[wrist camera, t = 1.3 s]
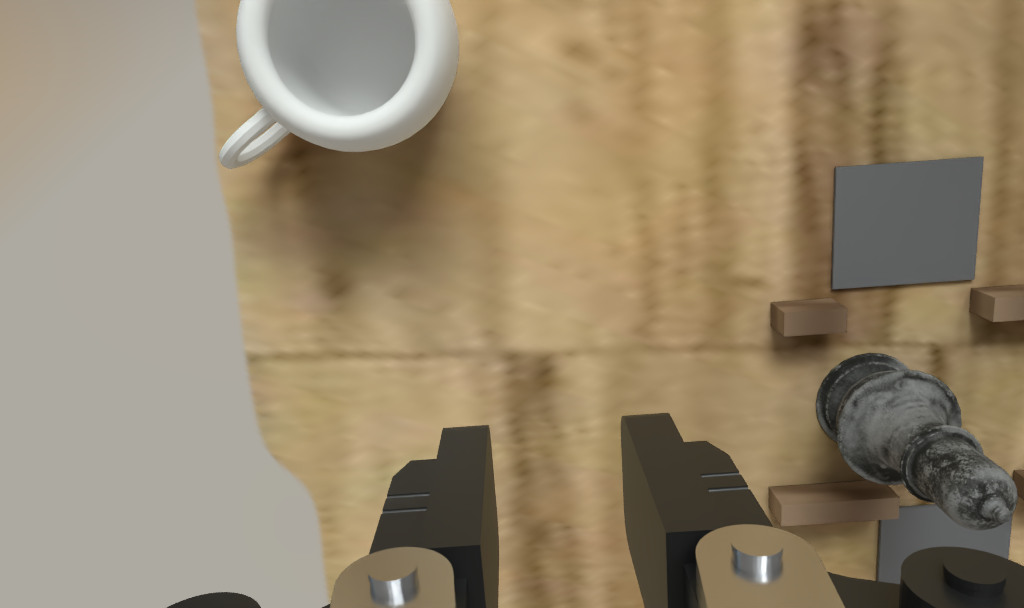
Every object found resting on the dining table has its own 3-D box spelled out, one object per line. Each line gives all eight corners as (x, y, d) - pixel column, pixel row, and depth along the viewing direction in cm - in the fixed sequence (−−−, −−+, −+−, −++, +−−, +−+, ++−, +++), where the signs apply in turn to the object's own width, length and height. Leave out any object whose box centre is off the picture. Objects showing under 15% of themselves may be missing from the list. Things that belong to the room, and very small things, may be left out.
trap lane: (768, 507, 43) (788, 537, 40) (770, 302, 40) (791, 318, 37) (1181, 479, 42) (1231, 507, 39) (1213, 271, 39) (1270, 284, 36)
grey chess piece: (891, 325, 40) (1048, 418, 28) (943, 415, 41) (1113, 539, 30) (789, 386, 41) (901, 500, 29) (843, 473, 42) (970, 615, 30)
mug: (380, -89, 35) (345, -141, 28) (502, 65, 37) (500, 56, 29) (189, 88, 37) (107, 85, 29) (313, 227, 39) (265, 258, 31)
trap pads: (821, 608, 44) (822, 610, 44) (834, 167, 38) (836, 167, 38) (1002, 597, 44) (1004, 599, 44) (1044, 152, 38) (1046, 152, 38)
